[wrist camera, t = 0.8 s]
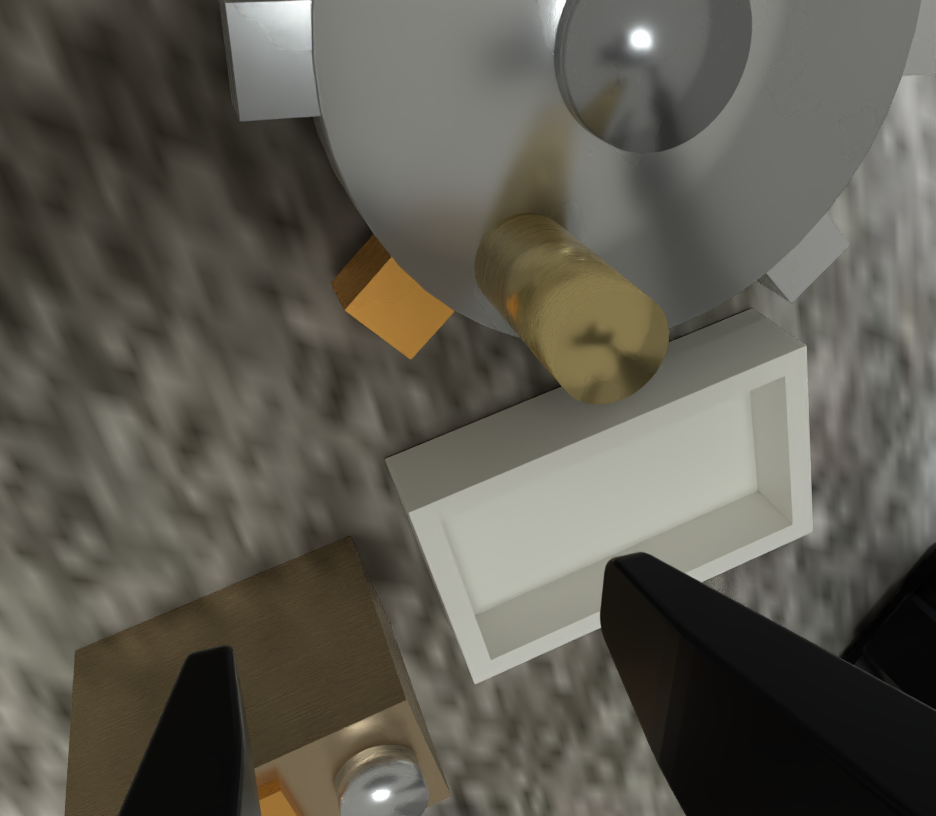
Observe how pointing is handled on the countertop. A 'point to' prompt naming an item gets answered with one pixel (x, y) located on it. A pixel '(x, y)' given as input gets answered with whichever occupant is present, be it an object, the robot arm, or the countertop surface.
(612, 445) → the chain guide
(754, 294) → the countertop surface
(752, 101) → the sprocket
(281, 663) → the link
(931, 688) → the robot arm
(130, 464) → the countertop surface
